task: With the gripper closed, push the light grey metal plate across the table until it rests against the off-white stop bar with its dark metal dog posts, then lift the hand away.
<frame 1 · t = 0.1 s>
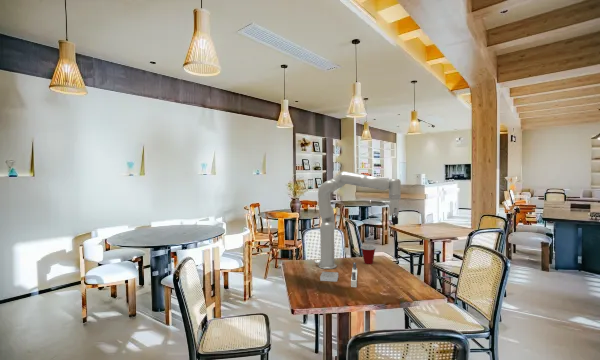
hand: (394, 223, 213), 31 cm above the table, tool pointing down, fingers open, 9 cm apart
plastic cup: (368, 263, 230), on the table
stop bar: (354, 279, 192), on the table
metal plate: (329, 279, 195), on the table
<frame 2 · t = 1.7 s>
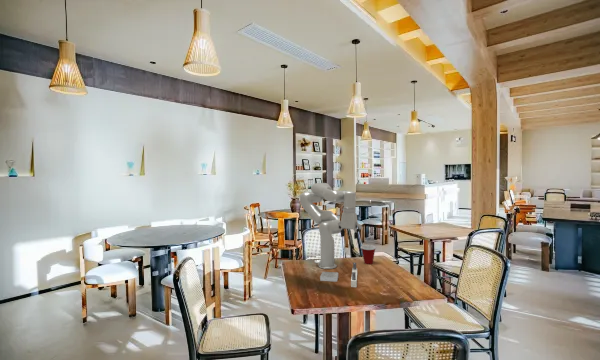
hand: (349, 237, 204), 23 cm above the table, tool pointing down, fingers open, 9 cm apart
nothing on the table moved.
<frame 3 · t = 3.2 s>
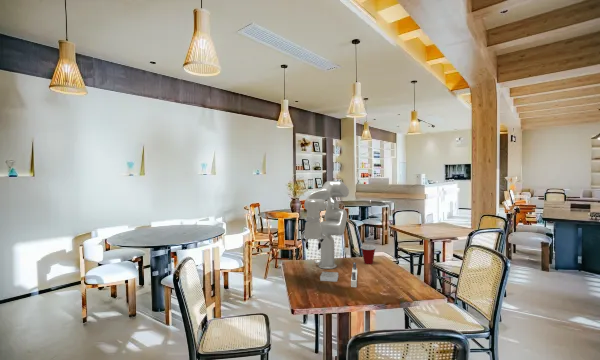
hand: (313, 248, 197), 18 cm above the table, tool pointing down, fingers open, 6 cm apart
nothing on the table moved.
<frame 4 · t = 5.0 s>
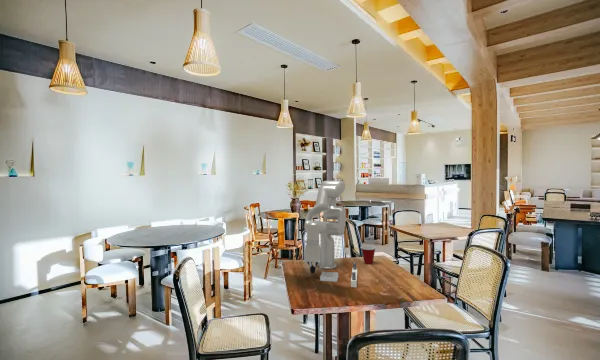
hand: (312, 272, 197), 3 cm above the table, tool pointing down, fingers closed
nothing on the table moved.
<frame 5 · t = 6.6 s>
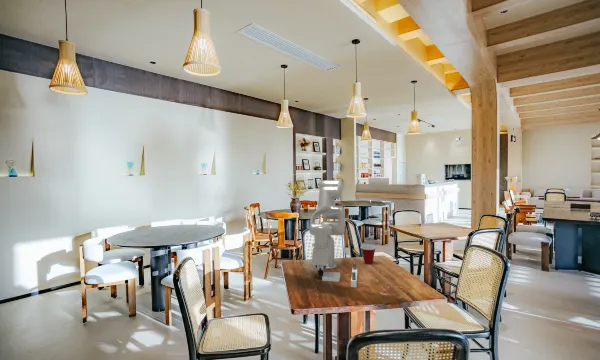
hand: (320, 275, 196), 1 cm above the table, tool pointing down, fingers closed
metal plate: (331, 279, 195), on the table, touching gripper
everything else where it was.
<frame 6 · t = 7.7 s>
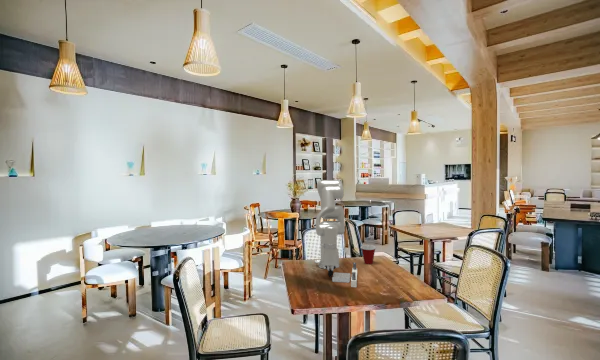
hand: (330, 276, 195), 1 cm above the table, tool pointing down, fingers closed
metal plate: (341, 280, 194), on the table, touching gripper
everything else where it was.
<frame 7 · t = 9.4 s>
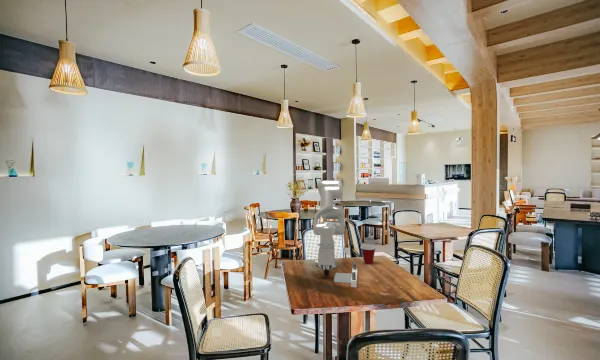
hand: (326, 275, 196), 1 cm above the table, tool pointing down, fingers closed
metal plate: (343, 280, 193), on the table
everything else where it was.
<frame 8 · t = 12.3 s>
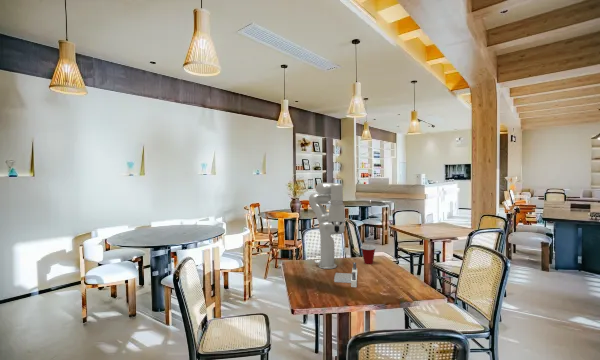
hand: (336, 232, 202), 27 cm above the table, tool pointing down, fingers closed
nothing on the table moved.
at the end: metal plate inside the target area (0.9 cm from its centre), on the table; metal plate tilted 0° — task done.
